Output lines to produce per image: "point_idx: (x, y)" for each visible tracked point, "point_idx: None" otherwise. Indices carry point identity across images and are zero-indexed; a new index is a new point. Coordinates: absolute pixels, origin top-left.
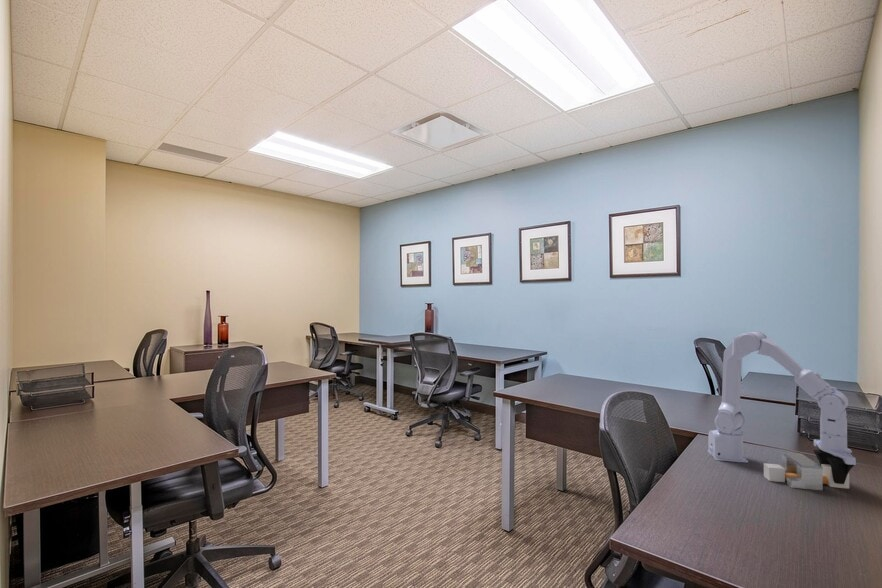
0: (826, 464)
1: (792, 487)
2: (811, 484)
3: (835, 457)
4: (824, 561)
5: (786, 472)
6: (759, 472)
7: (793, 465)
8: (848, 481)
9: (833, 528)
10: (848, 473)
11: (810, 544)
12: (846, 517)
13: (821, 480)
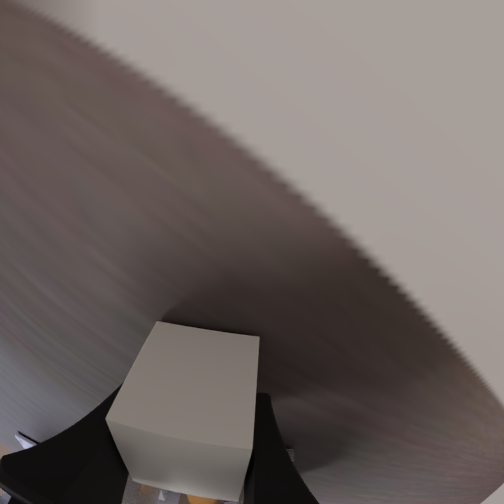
0: (129, 469)
1: None
2: None
3: (81, 490)
4: (496, 480)
5: None
6: None
7: (151, 501)
8: (256, 377)
9: (469, 470)
10: (252, 432)
11: (473, 489)
12: (460, 448)
13: None
